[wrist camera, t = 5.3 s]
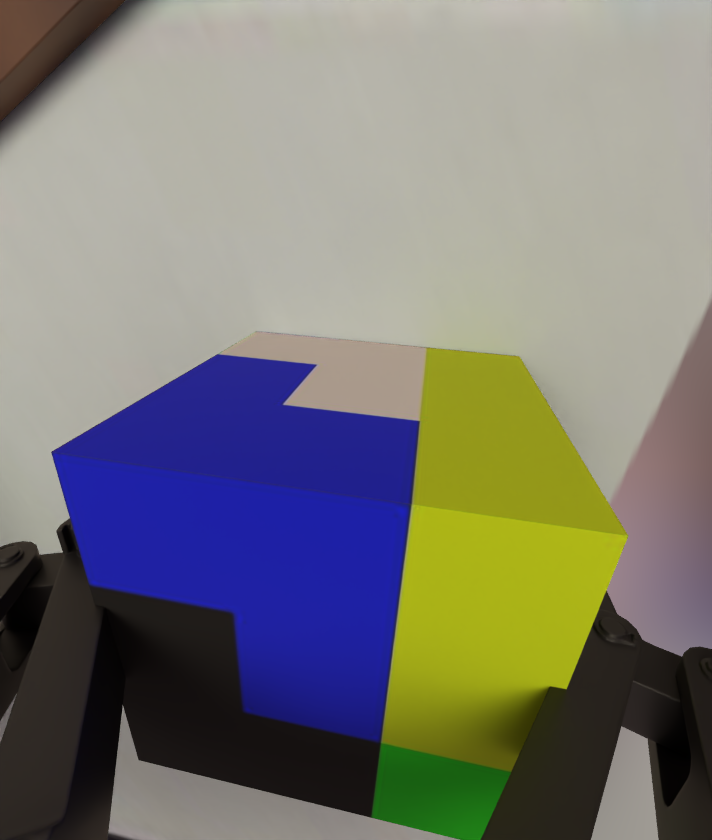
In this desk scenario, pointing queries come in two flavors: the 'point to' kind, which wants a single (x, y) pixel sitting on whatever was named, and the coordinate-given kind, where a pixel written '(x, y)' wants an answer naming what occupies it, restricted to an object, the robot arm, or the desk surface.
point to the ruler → (41, 40)
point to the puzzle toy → (343, 570)
